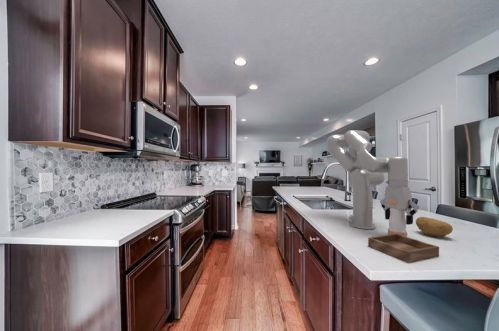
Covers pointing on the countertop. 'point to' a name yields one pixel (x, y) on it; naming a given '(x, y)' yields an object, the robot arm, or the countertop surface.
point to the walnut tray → (403, 247)
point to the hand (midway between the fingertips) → (398, 221)
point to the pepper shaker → (397, 220)
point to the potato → (433, 226)
